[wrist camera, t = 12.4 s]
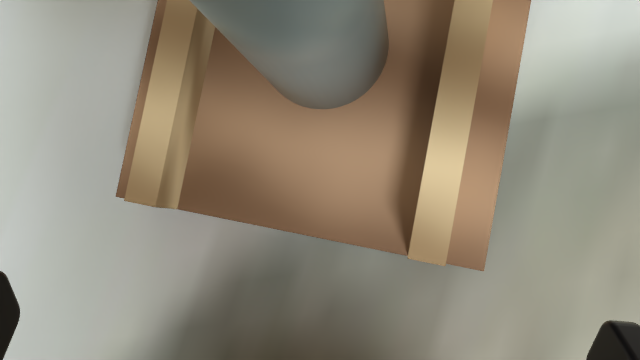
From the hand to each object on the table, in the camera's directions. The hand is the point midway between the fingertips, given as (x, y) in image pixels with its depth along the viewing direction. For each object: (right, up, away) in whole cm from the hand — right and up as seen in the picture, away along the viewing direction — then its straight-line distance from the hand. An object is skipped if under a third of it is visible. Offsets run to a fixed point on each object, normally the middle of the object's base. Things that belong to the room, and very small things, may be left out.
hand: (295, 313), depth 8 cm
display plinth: (+1, +6, +14) cm, 15 cm away
